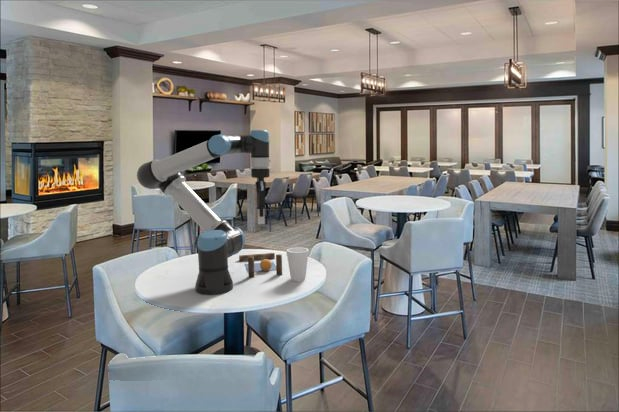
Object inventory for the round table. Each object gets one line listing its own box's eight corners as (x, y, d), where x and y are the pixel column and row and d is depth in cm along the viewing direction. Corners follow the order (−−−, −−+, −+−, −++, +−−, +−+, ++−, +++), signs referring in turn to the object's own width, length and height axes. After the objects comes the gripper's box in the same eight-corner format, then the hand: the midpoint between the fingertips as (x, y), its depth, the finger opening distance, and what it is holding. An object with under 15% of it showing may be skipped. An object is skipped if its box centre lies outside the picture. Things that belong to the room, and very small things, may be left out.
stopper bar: (239, 261, 226) (239, 256, 226) (239, 260, 228) (239, 255, 228) (274, 258, 231) (274, 253, 230) (274, 257, 233) (274, 252, 232)
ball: (260, 257, 207) (259, 261, 212) (260, 268, 205) (259, 272, 210) (272, 257, 208) (271, 261, 213) (272, 268, 206) (271, 272, 210)
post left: (248, 277, 199) (248, 258, 197) (248, 276, 201) (247, 256, 200) (254, 277, 199) (254, 257, 198) (254, 275, 202) (253, 256, 200)
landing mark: (248, 272, 207) (248, 272, 207) (245, 264, 220) (245, 264, 220) (278, 270, 210) (278, 269, 210) (273, 262, 223) (273, 261, 223)
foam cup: (306, 282, 191) (305, 253, 189) (285, 281, 192) (284, 252, 190) (310, 276, 200) (310, 247, 198) (290, 275, 202) (289, 247, 200)
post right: (277, 275, 202) (276, 255, 200) (276, 273, 204) (275, 254, 203) (282, 274, 202) (282, 255, 201) (281, 273, 205) (281, 254, 203)
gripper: (271, 168, 180) (272, 226, 183) (267, 166, 192) (268, 220, 196) (252, 169, 178) (253, 227, 182) (249, 166, 191) (250, 221, 194)
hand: (261, 223), depth 189 cm, fingers closed
